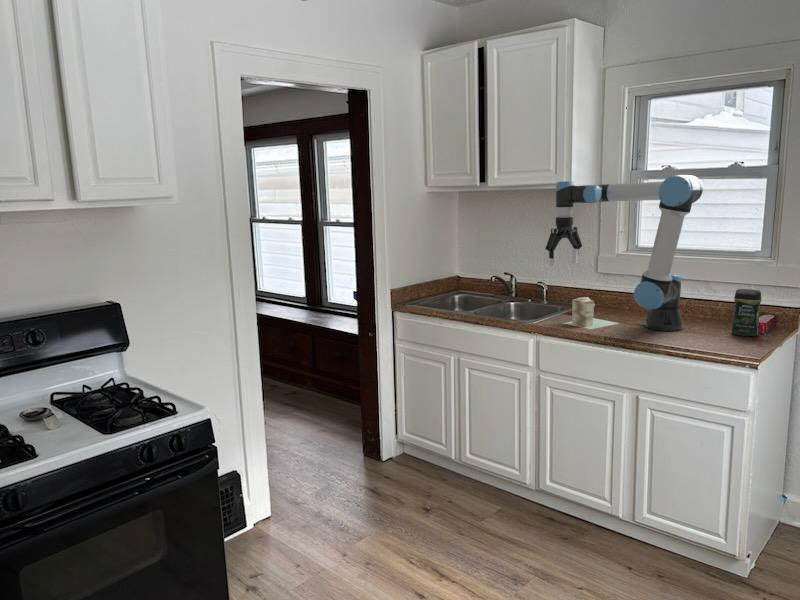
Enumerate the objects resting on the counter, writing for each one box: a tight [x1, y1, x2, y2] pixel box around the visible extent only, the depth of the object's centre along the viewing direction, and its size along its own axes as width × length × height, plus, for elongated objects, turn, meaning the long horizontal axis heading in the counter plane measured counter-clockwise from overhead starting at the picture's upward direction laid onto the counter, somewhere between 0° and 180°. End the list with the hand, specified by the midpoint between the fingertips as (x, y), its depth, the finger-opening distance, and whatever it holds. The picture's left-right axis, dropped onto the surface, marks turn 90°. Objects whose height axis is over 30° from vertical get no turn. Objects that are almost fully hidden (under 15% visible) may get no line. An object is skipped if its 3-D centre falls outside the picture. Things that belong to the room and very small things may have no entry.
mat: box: [562, 317, 620, 330], centre depth 290 cm, size 16×19×1 cm
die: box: [576, 296, 596, 307], centre depth 310 cm, size 8×9×10 cm
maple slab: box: [571, 297, 595, 327], centre depth 286 cm, size 8×4×11 cm, turn 34°
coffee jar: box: [731, 288, 762, 337], centre depth 263 cm, size 10×8×19 cm
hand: (563, 264), depth 293 cm, fingers open, 13 cm apart
